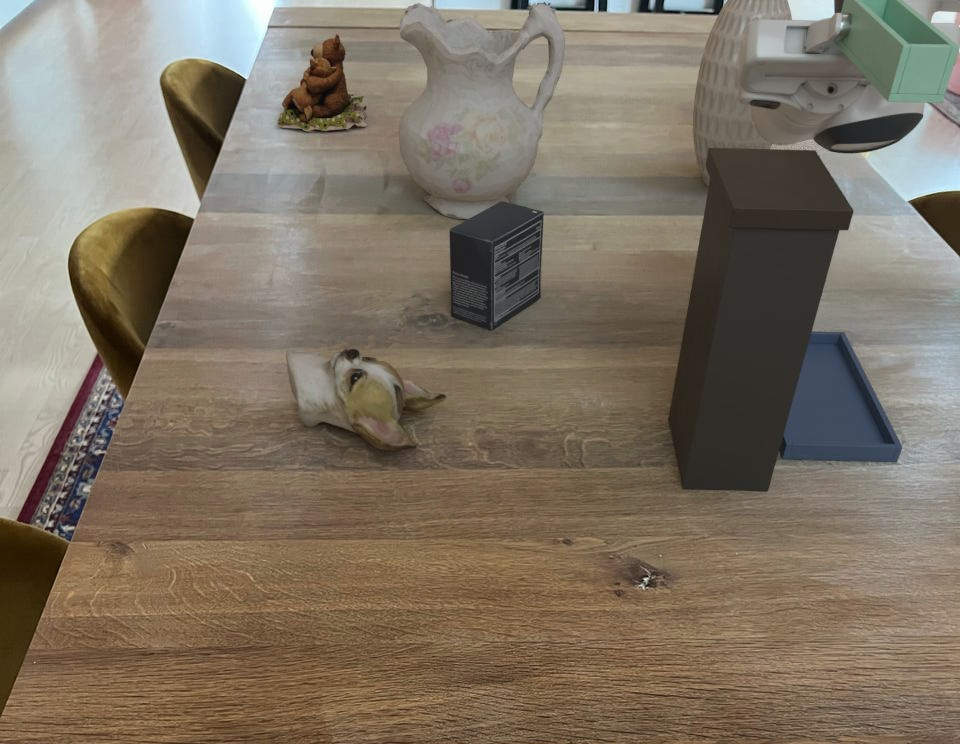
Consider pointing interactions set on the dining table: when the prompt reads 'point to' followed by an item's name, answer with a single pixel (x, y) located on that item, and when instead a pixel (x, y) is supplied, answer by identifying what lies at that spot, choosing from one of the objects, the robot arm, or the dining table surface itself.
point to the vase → (728, 82)
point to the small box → (496, 264)
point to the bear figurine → (323, 94)
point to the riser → (751, 311)
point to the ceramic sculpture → (356, 396)
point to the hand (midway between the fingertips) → (875, 23)
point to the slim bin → (898, 50)
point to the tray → (836, 408)
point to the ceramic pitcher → (474, 108)
